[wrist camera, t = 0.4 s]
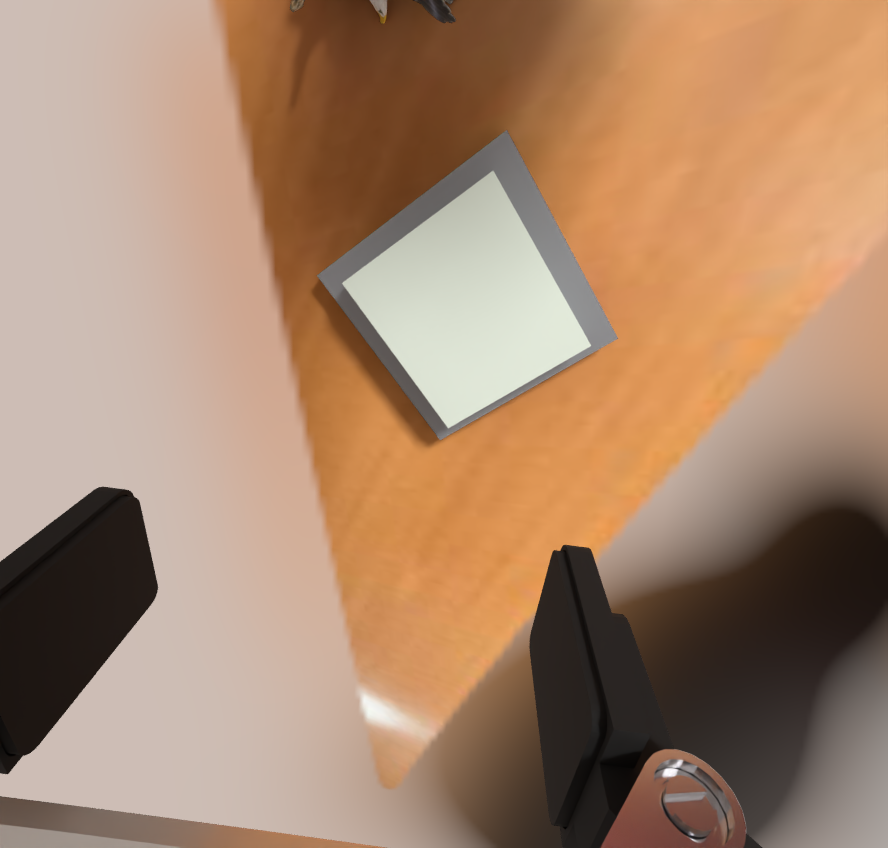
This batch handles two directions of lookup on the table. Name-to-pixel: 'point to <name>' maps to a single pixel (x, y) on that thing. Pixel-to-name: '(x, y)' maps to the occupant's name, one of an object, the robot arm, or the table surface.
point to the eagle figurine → (432, 3)
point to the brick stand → (471, 292)
